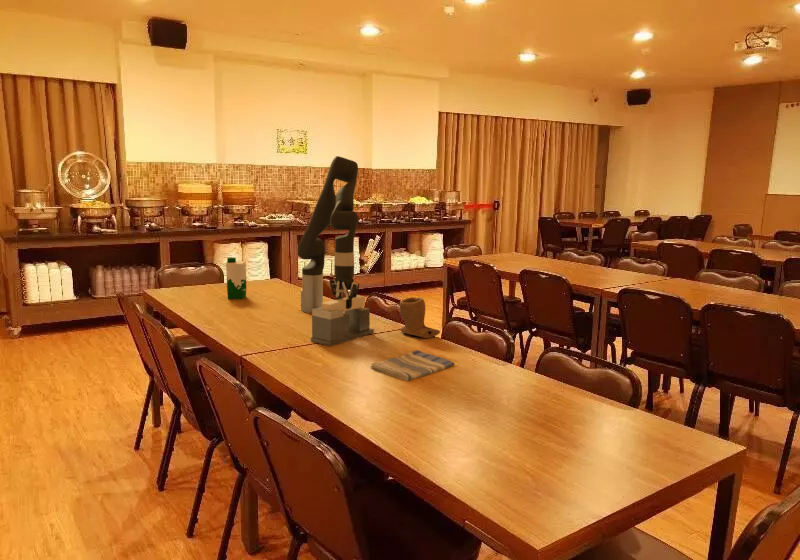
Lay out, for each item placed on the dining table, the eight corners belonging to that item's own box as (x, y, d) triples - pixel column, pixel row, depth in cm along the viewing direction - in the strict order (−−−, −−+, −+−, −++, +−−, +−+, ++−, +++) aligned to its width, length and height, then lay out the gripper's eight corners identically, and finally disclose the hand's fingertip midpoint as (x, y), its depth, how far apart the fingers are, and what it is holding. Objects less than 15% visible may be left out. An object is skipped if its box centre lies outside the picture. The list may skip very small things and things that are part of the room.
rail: (321, 313, 228) (321, 303, 227) (357, 304, 244) (357, 294, 243) (329, 315, 226) (329, 304, 225) (364, 306, 241) (364, 296, 241)
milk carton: (230, 295, 307) (229, 256, 303) (248, 296, 307) (247, 257, 303) (225, 299, 298) (224, 259, 295) (243, 299, 298) (242, 259, 295)
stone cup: (392, 333, 242) (393, 296, 240) (414, 329, 250) (415, 293, 248) (419, 342, 231) (420, 303, 229) (440, 336, 239) (442, 299, 237)
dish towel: (368, 370, 200) (368, 361, 199) (418, 355, 216) (418, 348, 216) (406, 383, 188) (406, 375, 187) (455, 367, 204) (455, 359, 204)
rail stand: (310, 341, 229) (310, 309, 227) (354, 328, 249) (355, 298, 247) (330, 346, 224) (330, 313, 221) (373, 332, 243) (374, 302, 241)
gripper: (323, 262, 233) (324, 306, 236) (351, 266, 224) (351, 312, 228) (337, 260, 239) (337, 303, 242) (364, 264, 230) (364, 308, 233)
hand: (344, 307), depth 235 cm, fingers closed on rail, 4 cm apart
